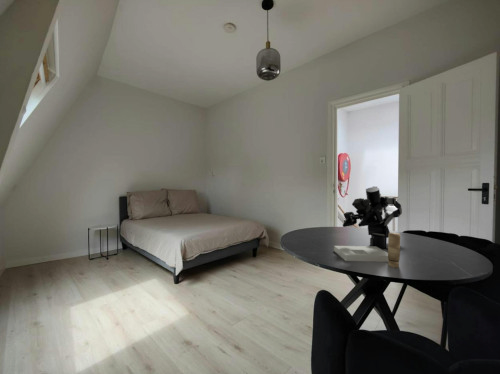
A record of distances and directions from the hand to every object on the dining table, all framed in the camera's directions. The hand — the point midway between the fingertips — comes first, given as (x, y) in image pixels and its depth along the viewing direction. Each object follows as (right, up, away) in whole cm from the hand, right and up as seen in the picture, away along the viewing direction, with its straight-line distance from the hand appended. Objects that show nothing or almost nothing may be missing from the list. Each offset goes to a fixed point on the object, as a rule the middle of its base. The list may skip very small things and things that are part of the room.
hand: (350, 225), depth 105 cm
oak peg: (+11, -14, -13) cm, 22 cm away
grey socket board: (+5, -14, -1) cm, 14 cm away
